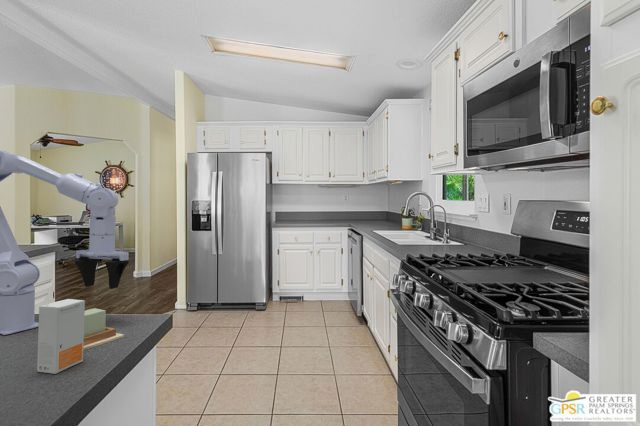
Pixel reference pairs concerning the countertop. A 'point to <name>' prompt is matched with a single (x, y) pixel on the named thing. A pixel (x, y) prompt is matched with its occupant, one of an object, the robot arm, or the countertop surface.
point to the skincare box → (60, 335)
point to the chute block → (94, 321)
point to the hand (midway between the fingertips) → (101, 287)
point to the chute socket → (101, 338)
